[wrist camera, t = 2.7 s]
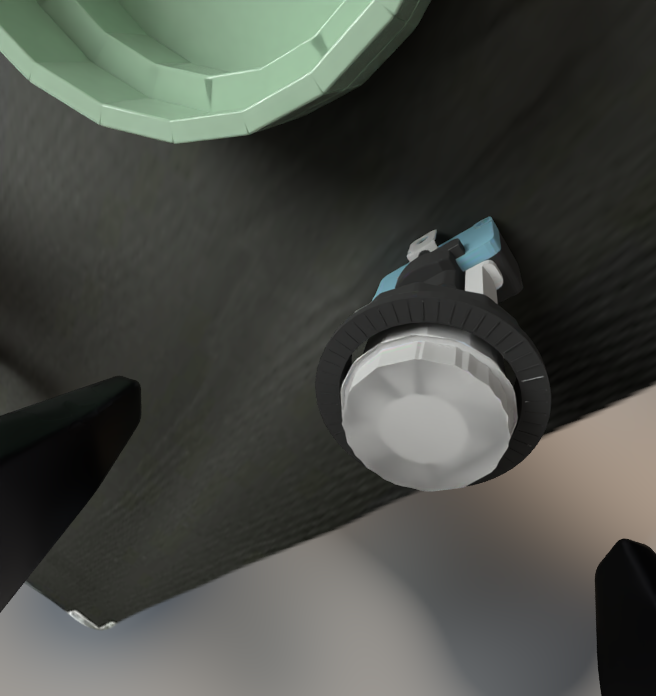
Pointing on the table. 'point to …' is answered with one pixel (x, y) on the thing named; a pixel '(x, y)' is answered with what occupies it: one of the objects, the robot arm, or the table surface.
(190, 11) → the bowl
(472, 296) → the push button
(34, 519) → the robot arm
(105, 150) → the table surface
